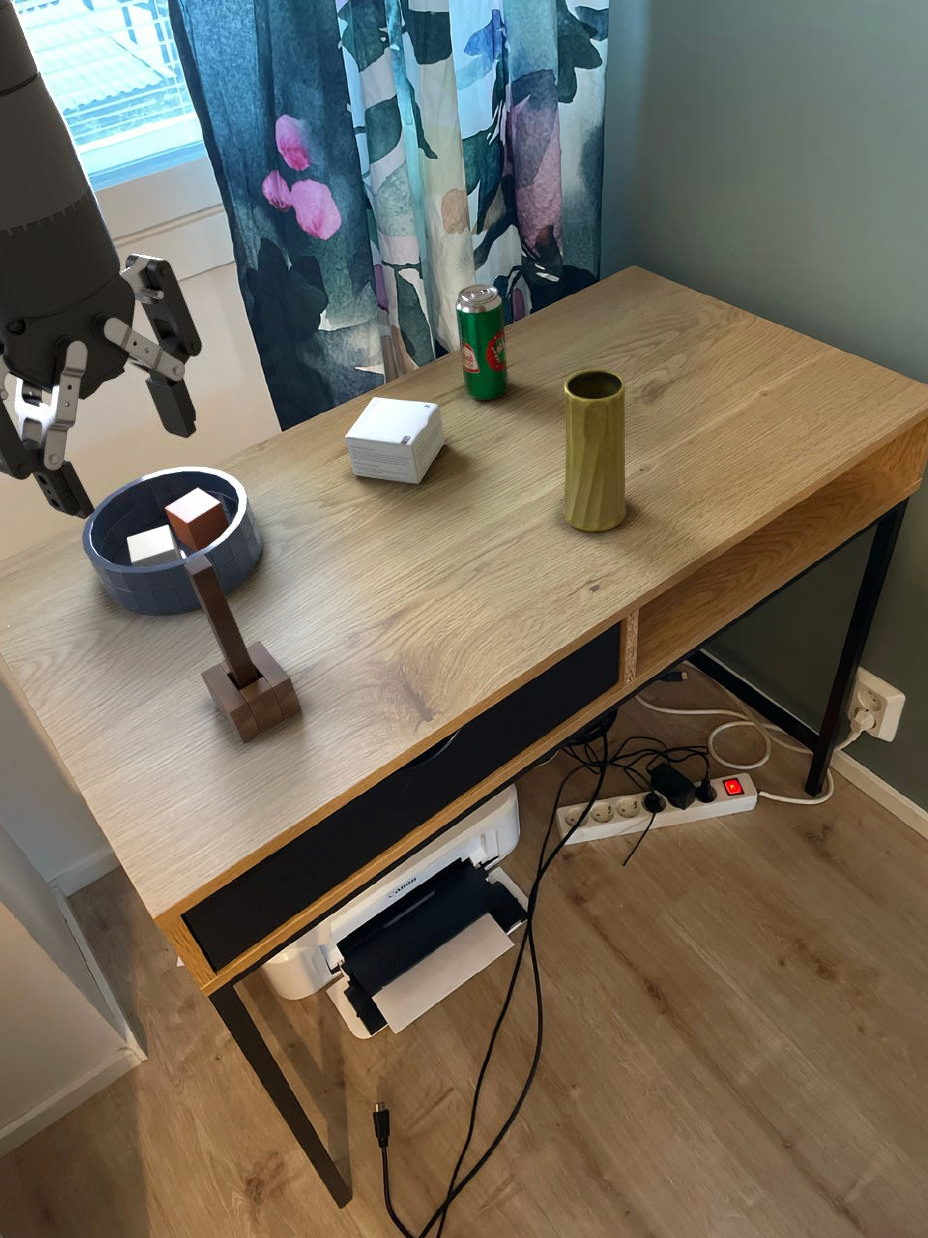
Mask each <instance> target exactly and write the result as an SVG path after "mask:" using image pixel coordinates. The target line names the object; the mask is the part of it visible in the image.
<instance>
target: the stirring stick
mask: <svg viewBox="0 0 928 1238" xmlns="http://www.w3.org/2000/svg"><path fill="white" fill-rule="evenodd" d="M184 568H185V570H186V572H187V575H188V577H189V579H190V581H191V584H192V586H193V588H194V590H195V593H196V595H197V597H198V600H199V602H200V604H201V606H202V607H201V608H202V611H203V613H204V615H205V618H206V620H207V622H208V625H209V627H210V629H211V631H212V634H213V636H214V638H215V640H216V643H217V645H218V647H219V649H220V651H221V655H222V656H223V659H224V660H225V661H226V663H227V665H228V667H229V670H230V672H231V674H232V677H233V679H234V681H235V683H236V686H237V688H238V690H239V691H240V690H241V689H243V688H245V687H246V686H248V685H250V684H251V683H253V682H255V681H257V680H258V679H259V678H258V675H257V673H256V670H255V668H254V665H253V663H252V660H251V658H250V656H249V653H248V651H247V646H246V644H245V641H244V639H243V636H242V634H241V631H240V629H239V626H238V624H237V622H236V619H235V616H234V614H233V612H232V609H231V607H230V604H229V601H228V599H227V597H226V595H224V592H223V590H222V587H221V585H220V582H219V580H218V578H217V575H216V573H215V570H214V568H213V565H212V564H211V563H210V562H209V561H208V560H207V558H206V557H205V556H204V555H202V556H200V557H198V558H196V559H194V560H192V561H190V562H188V563H186V564H184Z"/></svg>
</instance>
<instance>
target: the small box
mask: <svg viewBox="0 0 928 1238" xmlns="http://www.w3.org/2000/svg"><path fill="white" fill-rule="evenodd" d="M442 422H443V421H442V415H441V408H440V405H439V404H438V403H433V402H424V401H415V400H403V399H393V398H383V397H377V396H374V397H373V398H372V399H371V401H370V402H369V403H368V404H367V406H366V407H365V409H364V410H363V412H362V413H361V414H360V416H359V417H358V419H357V420H356V421H355V423H354V424H353V425H352V427H351V428H350V430H348V432H347V433H346V435H345V436H344V438H345V442H346V447H347V451H348V455H349V460H350V464H351V467H352V472H353V475H354V476H358V477H365V478H370V479H371V478H372V479H378V480H385V481H393V482H399V483H406V484H414V485H415V484H416V485H419V484H420V483H421V481H422V479H424V476H425V475H426V473H427V471H428V470H429V468H430V467H431V465H432V463H433V462H434V460H435V459H436V457H437V455H438V453H439V452H440V450H442V449H441V448H442V447H443V446H444V444H445V436H444V430H443V424H442Z"/></svg>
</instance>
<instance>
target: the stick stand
mask: <svg viewBox="0 0 928 1238" xmlns="http://www.w3.org/2000/svg"><path fill="white" fill-rule="evenodd" d="M246 648H247V651H248V653H249V656H250V658H251V660H252V663H253V665H254V668H255V670H256V673H257V675H258V678H259V679H258V680H257V681H255V682H253V683H251V684H250V685H248V686H246V687H245V688H243V689H241V690H240V691H239V690H238V688H237V686H236V683H235V681H234V679H233V677H232V674H231V672H230V670H229V667H228V665H227V663H226V661H225V659H223V660H221V661H219V662H218V663H216V664H214V665H213V666H211V667H210V668H207V669H206V670H204V671H202V672H201V673H200V675H201V677H202V680H203V681H204V684H205V686H206V688H207V690H208V692H209V694H210V696H211V698H212V700H213V702H214V705H215V706H216V707H217V709H218V710H219V712H220V713H221V715H222V716H223V717H224V718H225V720H226V721H227V722H228V724H229V726H230V727H231V728H232V730H233V731H234V732H235V734H236V735H237V737H238V738H239V739H240V740H241V742H242V743H243V744H245V743H247V742H248V741H250V740H252V739H254V738H255V737H257V736H258V735H260V734H261V733H264V732H266V731H267V730H268V729H270V728H272V727H274V726H275V725H277V724H278V723H280V722H281V721H283V720H285V719H287V718H289V717H291V716H292V715H294V714H295V713H297V712H299V711H300V710H302V706H301V703H300V700H299V698H298V695H297V693H296V690H295V688H294V685H293V682H292V679H291V677H290V676H289V674H288V673H287V672H286V671H285V670H284V669H283V667H282V666H281V664H280V663H278V661H277V659H275V658H274V656H273V655H272V654H271V653H270V652H269V651H268V649H267V648H266V647H265V645H264V644H263V643H262V642H261V640H257V641H255V642H254V643H252V644H250V645H248V646H246Z"/></svg>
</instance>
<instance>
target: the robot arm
mask: <svg viewBox="0 0 928 1238" xmlns="http://www.w3.org/2000/svg"><path fill="white" fill-rule="evenodd" d="M15 3H16V2H15V0H0V473H2V474H5V475H8V476H10V477H11V478H13V479H16V480H18V481H23V480H27V479H28V478H29V477H31V475H33V477H34V479H35V481H36V483H37V485H38V486H39V489H40V490H41V492H42V493H43V496H44V497H45V499H46V501H47V503H48V504H49V506H50V507H52V508H53V509H54V510H55V511H58V512H60V513H63V514H65V515H68V516H70V517H76V518H79V519H82V520H87V519H88V518H89V517H90V515H91V514H92V513H94V512H95V507H94V505H93V503H92V501H91V498H90V497H89V495H88V492H87V491H86V489H85V487H84V485H83V483H82V481H81V479H80V477H79V475H78V473H77V471H76V469H75V468H74V466H73V463H72V462H71V461H70V460H68V459H65V456H66V455H65V454H66V446H67V439H68V432H69V430H70V429H71V428H73V427H74V426H75V424H76V420H77V411H78V405H79V400H82V401H84V400H86V399H88V398H89V397H91V396H93V394H95V393H96V392H97V390H98V389H99V388H100V387H101V386H102V385H103V384H104V383H106V382H108V381H112V380H115V379H117V378H118V377H120V376H121V375H122V374H124V373H125V372H126V370H125V366H126V364H127V363H128V364H130V365H131V366H133V367H135V368H137V369H138V370H140V371H142V372H144V373H145V374H148V375H149V376H148V377H147V378H146V379H145V380H144V382H145V384H146V386H147V389H148V392H149V394H150V397H151V399H152V401H153V404H154V407H155V409H156V411H157V414H158V416H159V419H160V421H161V424H162V426H163V428H164V430H165V431H166V432H167V433H169V434H171V435H174V436H177V437H180V438H185V439H189V438H190V437H191V436H192V435H193V434H195V433H196V432H197V426H196V424H195V422H196V421H197V411H196V408H195V406H194V404H193V401H192V400H193V399H192V398H191V395H190V392H189V390H188V386H187V385H186V381H185V379H184V377H185V373H186V367H185V365H186V364H187V362H188V361H189V359H191V357H193V358H194V357H198V356H199V355H200V354H201V352H202V349H203V343H202V340H201V337H200V334H199V332H198V329H197V328H196V327H197V326H196V324H195V322H194V320H193V317H192V315H191V312H190V309H189V307H188V305H187V301H186V299H185V297H184V294H183V292H182V290H181V287H180V284H179V282H178V279H177V277H176V274H175V271H174V270H173V267H172V265H171V263H170V262H169V261H168V260H166V259H161V258H156V257H152V256H146V255H141V254H136V253H132V254H129V255H128V256H127V257H126V259H125V270H123V271H121V259H120V257H119V254H118V252H117V249H116V246H115V244H114V242H113V239H112V236H111V233H110V231H109V229H108V225H107V223H106V220H105V217H104V215H103V213H102V210H101V208H100V205H99V203H98V199H97V197H96V195H95V192H94V189H93V187H92V184H91V182H90V179H89V176H88V174H87V171H86V169H85V166H84V163H83V161H82V158H81V155H80V153H79V151H78V148H77V146H76V142H75V140H74V138H73V135H72V133H71V130H70V128H69V125H68V123H67V120H66V119H65V117H64V115H63V112H62V111H61V109H60V107H59V104H58V103H57V101H56V99H55V97H54V96H53V94H52V91H51V90H50V87H49V86H48V83H47V82H46V79H45V77H44V75H43V73H42V71H41V69H40V65H39V62H38V60H37V57H36V55H35V53H34V50H33V47H32V45H31V42H30V39H29V37H28V34H27V31H26V29H25V26H24V24H23V21H22V19H21V16H20V14H19V11H18V9H17V6H16V4H15ZM136 301H137V302H140V304H141V307H142V309H143V311H144V314H145V316H146V318H147V320H148V322H149V324H150V327H151V330H152V331H153V334H154V336H155V339H156V340H157V343H158V344H157V343H155V342H154V341H153V340H151V339H149V338H148V337H145V335H142V334H140V333H139V332H138V331H136V330H134V329H133V325H134V318H135V309H136ZM8 374H9V375H12V376H13V377H15V378H16V382H15V391H14V400H13V410H14V413H15V415H16V417H17V419H18V421H17V427H16V426H15V424H14V421H13V420H12V417H11V415H10V413H9V411H8V408H7V407H6V405H5V403H4V401H7V400H8V399H9V392H8V390H7V389H6V385H5V379H6V377H7V375H8ZM43 392H45V393H46V394H49V395H51V400H50V405H47V404H45V403H44V401H43V398H42V397H43ZM16 428H17V429H16Z"/></svg>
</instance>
